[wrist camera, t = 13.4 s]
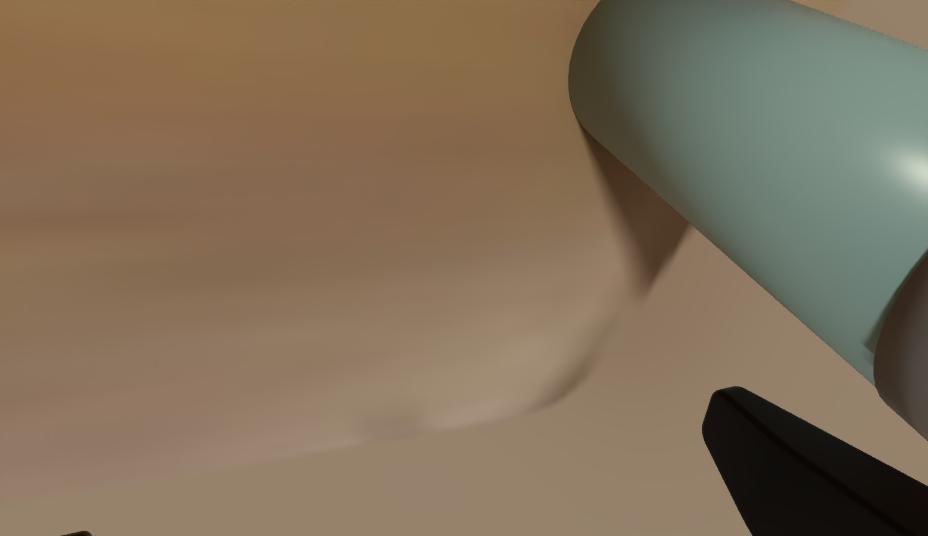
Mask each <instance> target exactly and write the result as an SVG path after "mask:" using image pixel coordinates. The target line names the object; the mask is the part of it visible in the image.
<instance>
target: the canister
mask: <svg viewBox="0 0 928 536" xmlns="http://www.w3.org/2000/svg"><path fill="white" fill-rule="evenodd" d="M568 82H569V94H570V100H571V104H572V107H573V110H574V113H575V115H576V117H577V119H578V121H579V122H580V124H581V125H582V127H583V128H584V129H585V130H586V131H587V132H588V133H589V134H590V135H591V136H592V137H593V138H594V139H595V140H597V141H598V142H599V143H600V144H601V145H602V146H603V147H604V148H606V149H607V150H608V151H609V152H610V153H611V154H612V155H613V156H615V157H616V158H617V159H618V160H619V161H620V162H621V163H623V164H624V165H625V166H626V167H627V168H628V169H629V170H630V171H632V172H633V173H634V174H635V175H636V176H637V177H638V178H639V179H641V180H642V181H643V182H644V183H645V184H646V185H647V186H649V187H650V188H651V189H652V190H653V191H654V192H655V193H656V194H658V195H659V196H660V197H661V198H662V199H663V200H664V201H666V202H667V203H668V204H669V205H670V206H671V207H672V208H673V209H675V210H676V211H677V212H678V213H679V214H680V215H681V216H682V217H684V218H685V219H686V220H687V221H688V222H689V223H690V224H692V225H693V226H694V227H695V228H696V229H697V230H698V231H700V232H701V233H702V234H703V235H704V236H705V237H707V239H709V240H710V241H711V242H712V243H713V244H714V245H715V246H716V247H718V248H719V249H720V250H721V251H722V252H723V253H724V254H726V255H727V256H728V257H729V258H730V259H731V260H732V261H734V262H735V263H736V264H737V265H738V266H739V267H740V268H742V270H744V271H745V272H746V273H747V274H748V275H749V276H750V277H752V278H753V279H754V280H755V281H756V282H757V283H758V284H759V285H761V286H762V287H763V288H764V289H765V290H766V291H767V292H769V293H770V294H771V295H772V296H773V297H774V298H775V299H776V300H777V301H779V302H780V303H781V304H782V305H783V306H784V307H786V308H787V309H788V310H789V311H790V312H791V313H792V314H793V315H794V316H796V317H797V318H798V319H799V320H800V321H801V322H802V323H804V324H805V325H806V326H807V327H808V328H809V329H810V330H811V331H813V332H814V333H815V334H816V335H817V336H818V337H819V338H820V339H822V340H823V341H824V342H825V343H826V344H827V345H829V347H831V348H832V349H833V350H834V351H835V352H836V353H838V354H839V355H840V356H841V357H842V358H843V359H844V360H845V361H846V362H848V363H849V364H850V365H851V366H852V367H853V368H854V369H856V370H857V371H858V372H859V373H860V374H861V375H862V376H863V377H865V378H866V379H867V380H868V381H869V382H870V383H871V384H872V385H874V386H875V387H876V389H877V391H878V393H879V395H880V397H881V398H882V399H883V401H884V402H885V403H886V404H887V405H888V406H889V407H890V408H891V409H892V410H894V411H895V412H896V413H897V414H898V415H899V416H900V417H901V418H902V419H904V420H905V421H906V422H907V423H908V424H909V425H910V426H911V427H913V428H914V429H915V430H916V431H917V432H918V433H919V434H920V435H922V436H923V437H924V438H925V439H926V440H927V441H928V50H927V49H924V48H921V47H918V46H915V45H913V44H910V43H907V42H905V41H901V40H899V39H896V38H893V37H891V36H888V35H885V34H882V33H880V32H877V31H874V30H871V29H869V28H866V27H863V26H860V25H857V24H855V23H852V22H849V21H846V20H844V19H841V18H838V17H835V16H832V15H830V14H827V13H824V12H821V11H819V10H816V9H813V8H810V7H807V6H805V5H802V4H799V3H796V2H794V1H791V0H601V1H600V2H599V3H598V4H597V6H596V7H595V8H594V10H593V11H592V12H591V14H590V15H589V17H588V18H587V20H586V22H585V23H584V25H583V27H582V29H581V31H580V33H579V35H578V38H577V40H576V43H575V46H574V49H573V52H572V56H571V61H570V66H569V76H568Z"/></svg>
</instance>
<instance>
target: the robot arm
mask: <svg viewBox="0 0 928 536" xmlns="http://www.w3.org/2000/svg"><path fill="white" fill-rule="evenodd" d="M702 434H703V438H704V441H705V444H706V446H707V448H708V449H709V451H710V454H711V456H712V457H713V460H714V462H715V464H716V466H717V468H718V470H719V472H720V474H721V476H722V478H723V480H724V482H725V484H726V486H727V488H728V490H729V492H730V494H731V496H732V498H733V500H734V502H735V504H736V506H737V508H738V510H739V512H740V514H741V516H742V518H743V520H744V522H745V524H746V525H747V527H748V529H749V531H750V532H751V534H752V536H928V486H926V485H925V484H923V483H921V482H919V481H917V480H915V479H913V478H911V477H910V476H907V475H906V474H904V473H902V472H900V471H898V470H896V469H895V468H893V467H891V466H889V465H887V464H885V463H883V462H881V461H879V460H878V459H876V458H874V457H872V456H870V455H868V454H867V453H864V452H863V451H861V450H859V449H857V448H855V447H853V446H852V445H849V444H848V443H846V442H844V441H842V440H840V439H838V438H836V437H835V436H832V435H831V434H829V433H827V432H825V431H823V430H822V429H819V428H818V427H816V426H814V425H812V424H810V423H808V422H807V421H805V420H803V419H801V418H799V417H797V416H795V415H793V414H792V413H789V412H788V411H786V410H784V409H782V408H780V407H778V406H777V405H775V404H773V403H771V402H769V401H767V400H765V399H763V398H762V397H760V396H758V395H756V394H754V393H752V392H750V391H748V390H746V389H744V388H742V387H738V386H737V387H736V386H734V387H729V388H725V389H720V390H717V391H715V392H714V393H713V394H712V397H711V399H710V402H709V406H708V409H707V412H706V415H705V418H704V421H703V425H702ZM62 536H92V535H91V534H90V533H89V532H88V531H80V532H76V533H71V534H67V535H62Z"/></svg>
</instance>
